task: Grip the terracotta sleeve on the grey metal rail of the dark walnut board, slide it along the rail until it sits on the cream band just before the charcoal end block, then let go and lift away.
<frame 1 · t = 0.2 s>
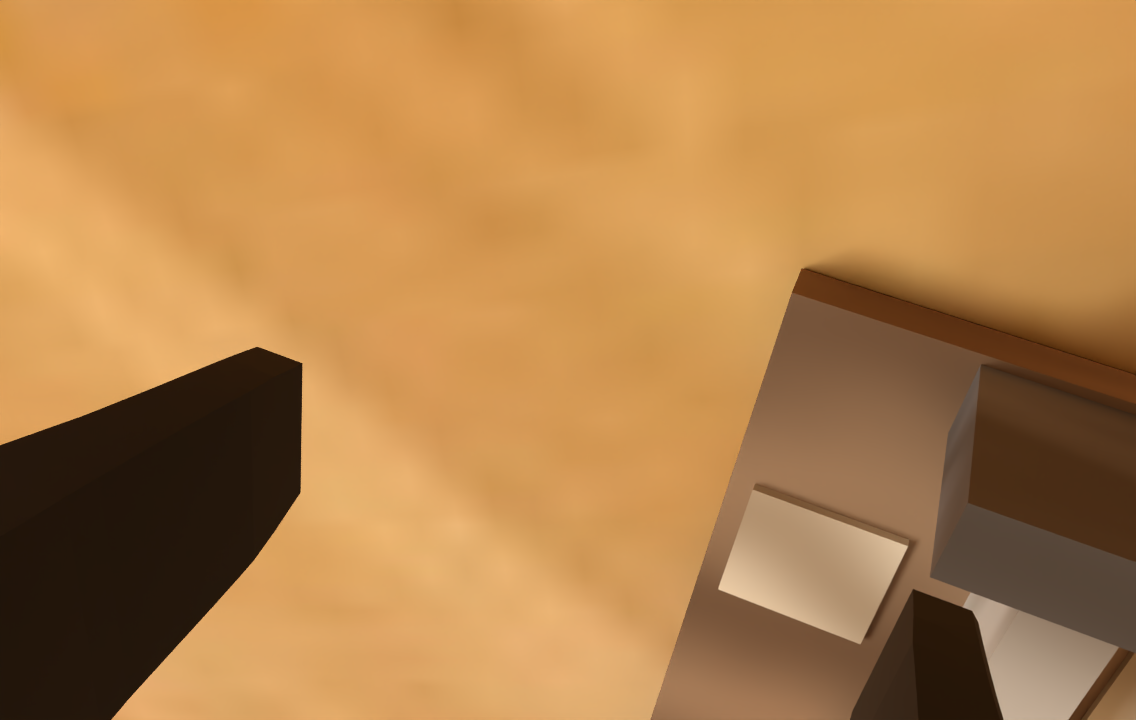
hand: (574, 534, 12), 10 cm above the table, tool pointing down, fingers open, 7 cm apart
rail board: (946, 687, 24), on the table
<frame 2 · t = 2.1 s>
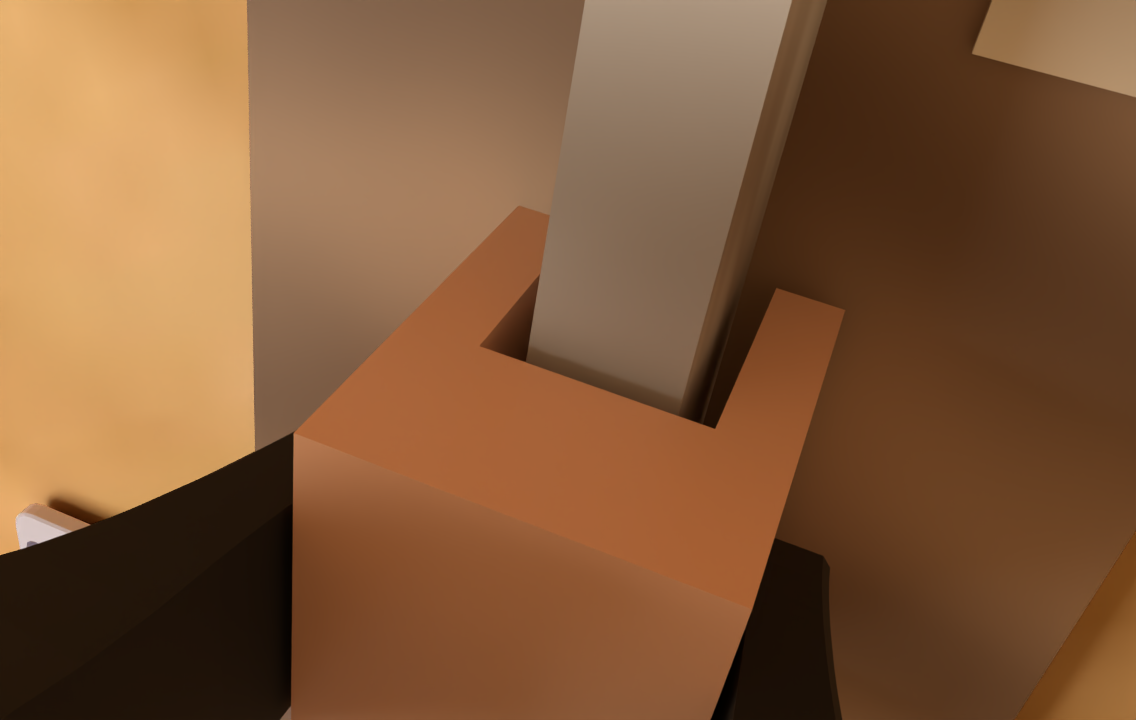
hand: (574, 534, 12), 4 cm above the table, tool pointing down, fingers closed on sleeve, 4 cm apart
rail board: (735, 96, 13), on the table
sleeve: (570, 542, 12), point 4 cm above the table, slide at 0.0 cm, touching gripper
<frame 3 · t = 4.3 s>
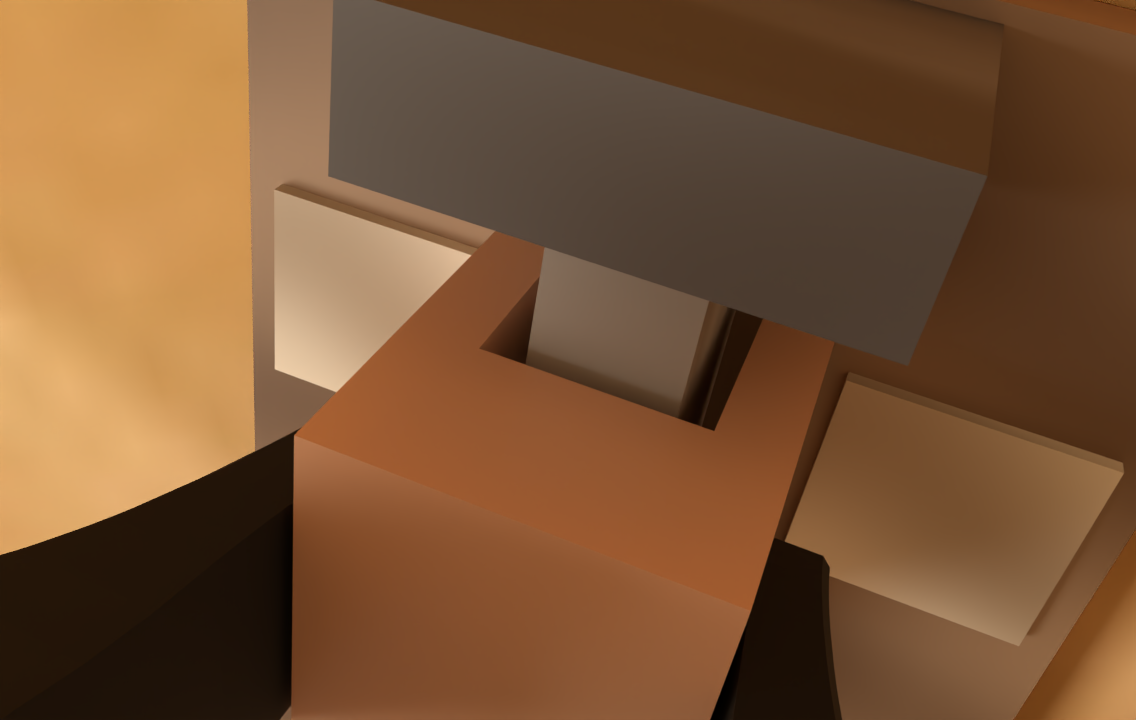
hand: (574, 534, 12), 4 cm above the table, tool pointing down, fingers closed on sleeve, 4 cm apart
rail board: (625, 521, 17), on the table
sleeve: (569, 544, 12), point 4 cm above the table, slide at 7.0 cm, touching gripper
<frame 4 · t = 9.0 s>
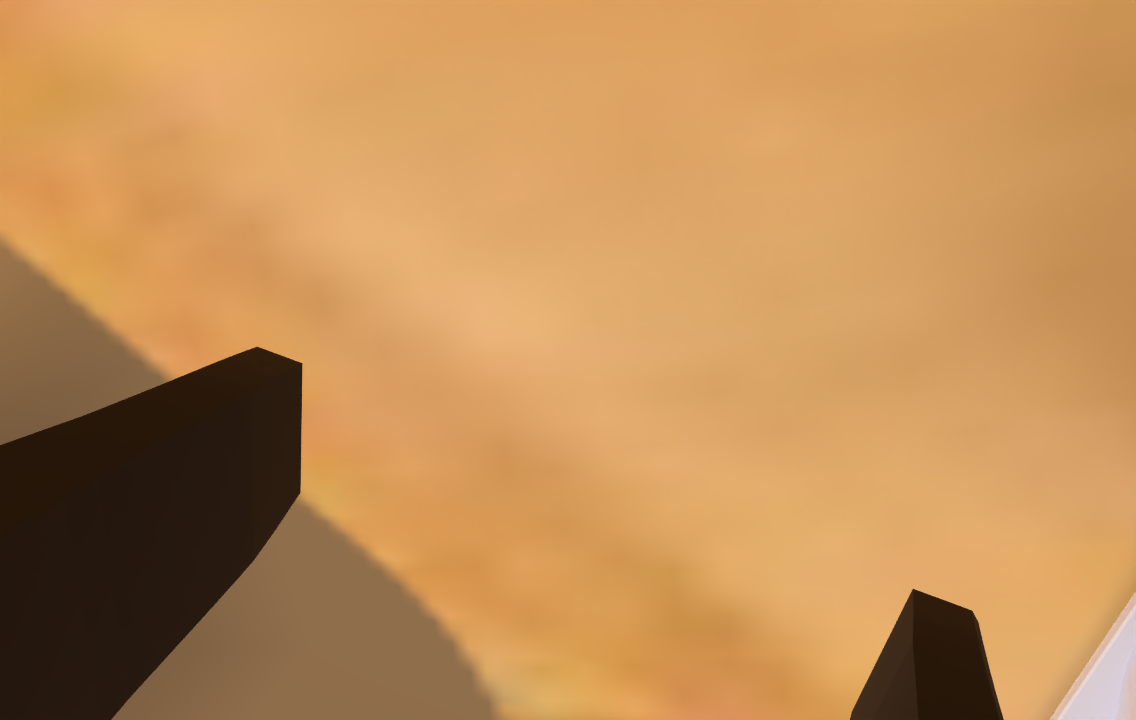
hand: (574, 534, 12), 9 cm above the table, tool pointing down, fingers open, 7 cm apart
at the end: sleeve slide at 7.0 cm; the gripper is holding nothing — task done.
